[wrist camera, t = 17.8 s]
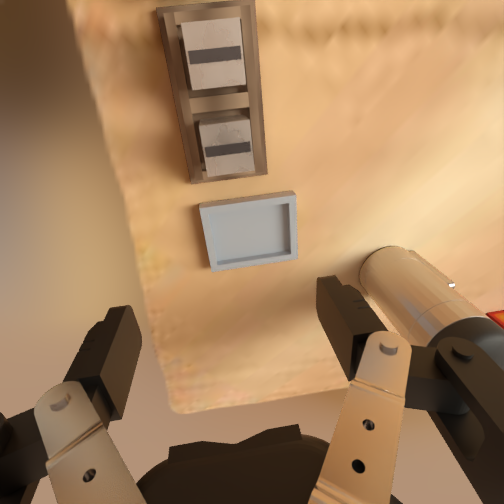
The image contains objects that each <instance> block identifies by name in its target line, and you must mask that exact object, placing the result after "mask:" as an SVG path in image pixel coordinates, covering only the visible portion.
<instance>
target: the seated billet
mask: <svg viewBox="0 0 504 504" xmlns="http://www.w3.org/2000/svg"><path fill="white" fill-rule="evenodd" d="M181 27H182V33H183V39H184V44H185V50H186V56H187V62H188V68H189V74H190V79H191V85H192V90H200V89H209V88H218V87H227V86H236V85H244V84H246V78H245V68H244V57H243V46H242V36H241V25H240V17H236V18H226V19H216V20H205V21H195V22H185V23H181Z"/></svg>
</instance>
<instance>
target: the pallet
mask: <svg viewBox="0 0 504 504" xmlns="http://www.w3.org/2000/svg"><path fill="white" fill-rule="evenodd" d="M156 11H157V16H158V21H159V26H160V31H161V36H162V41H163V46H164V51H165V56H166V61H167V66H168V71H169V76H170V81H171V86H172V91H173V96H174V101H175V106H176V111H177V116H178V121H179V126H180V131H181V135H182V140H183V145H184V150H185V155H186V160H187V165H188V170H189V175H190V180H191V184H198V183H205V182H213V181H220V180H228V179H236V178H243V177H251V176H258V175H266V174H268V173H267V159H266V146H265V132H264V118H263V104H262V90H261V77H260V63H259V49H258V35H257V22H256V8H255V0H233V1H223V2H212V3H201V4H190V5H180V6H169V7H158V8H156ZM236 17H240V25H241V36H242V46H243V57H244V68H245V78H246V84H244V85H236V86H227V87H218V88H209V89H200V90H192V85H191V79H190V74H189V68H188V62H187V56H186V50H185V44H184V39H183V33H182V27H181V23H185V22H195V21H205V20H216V19H226V18H236ZM241 114H243V115H244V116H245V117H247V118H248V119H250V128H251V138H252V148H253V158H254V168H255V171H248V172H240V173H233V174H226V175H219V176H211V177H208V175H207V169H206V164H205V158H204V152H203V147H202V141H201V136H200V130H199V123H200V120H201V119H209V118H217V117H225V116H233V115H241Z"/></svg>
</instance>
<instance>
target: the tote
mask: <svg viewBox="0 0 504 504" xmlns="http://www.w3.org/2000/svg"><path fill="white" fill-rule="evenodd" d="M199 210H200V215H201V220H202V225H203V230H204V235H205V240H206V246H207V251H208V256H209V261H210V266H211V271H212V272H216V271H222V270H229V269H235V268H242V267H249V266H255V265H262V264H268V263H275V262H281V261H288V260H295V259H298V244H297V206H296V194H295V193H294V192H293V191H286V192H278V193H271V194H264V195H257V196H249V197H242V198H235V199H227V200H220V201H213V202H205V203H200V205H199Z"/></svg>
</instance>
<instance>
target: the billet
mask: <svg viewBox="0 0 504 504" xmlns="http://www.w3.org/2000/svg"><path fill="white" fill-rule="evenodd" d="M199 130H200V136H201V141H202V147H203V152H204V158H205V164H206V169H207V175H208V177H211V176H219V175H226V174H233V173H240V172H248V171H255V168H254V158H253V148H252V138H251V128H250V119H248V118H247V117H245V116H244V115H243V114H241V115H233V116H225V117H217V118H209V119H201V120H200V123H199Z"/></svg>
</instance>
